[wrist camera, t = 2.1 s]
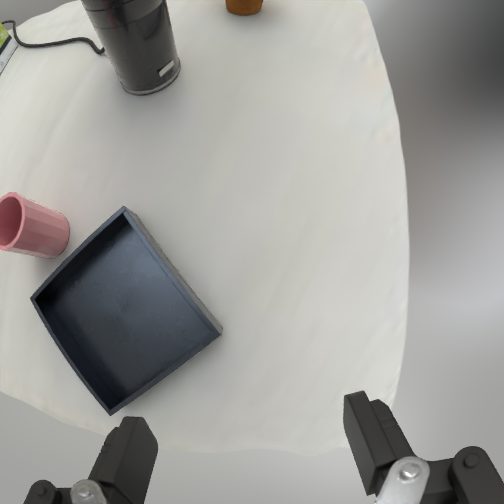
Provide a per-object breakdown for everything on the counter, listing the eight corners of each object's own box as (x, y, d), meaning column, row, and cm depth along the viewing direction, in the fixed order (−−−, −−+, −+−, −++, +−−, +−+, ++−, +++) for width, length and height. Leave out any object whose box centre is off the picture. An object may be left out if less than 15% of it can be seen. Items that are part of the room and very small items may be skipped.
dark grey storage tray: (47, 297, 32) (29, 298, 27) (136, 214, 33) (123, 205, 29) (122, 403, 31) (110, 416, 26) (223, 328, 33) (221, 334, 28)
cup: (30, 232, 32) (-15, 218, 22) (57, 202, 33) (15, 180, 23) (47, 267, 32) (0, 262, 22) (76, 237, 33) (31, 223, 23)
